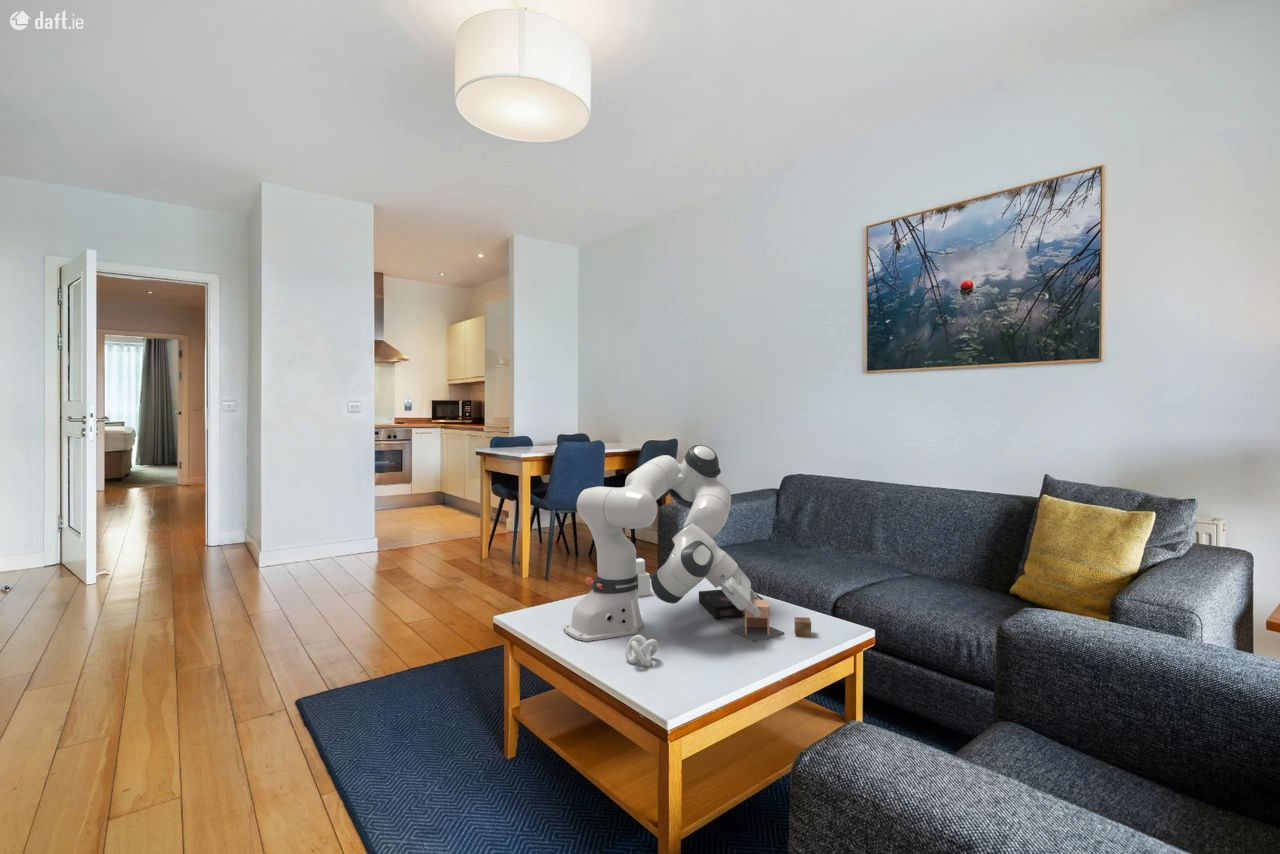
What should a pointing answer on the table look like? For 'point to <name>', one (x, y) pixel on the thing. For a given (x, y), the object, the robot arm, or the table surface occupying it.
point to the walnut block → (802, 626)
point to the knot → (641, 650)
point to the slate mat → (757, 632)
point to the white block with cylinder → (642, 578)
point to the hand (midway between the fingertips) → (759, 609)
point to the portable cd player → (720, 604)
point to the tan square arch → (761, 619)
